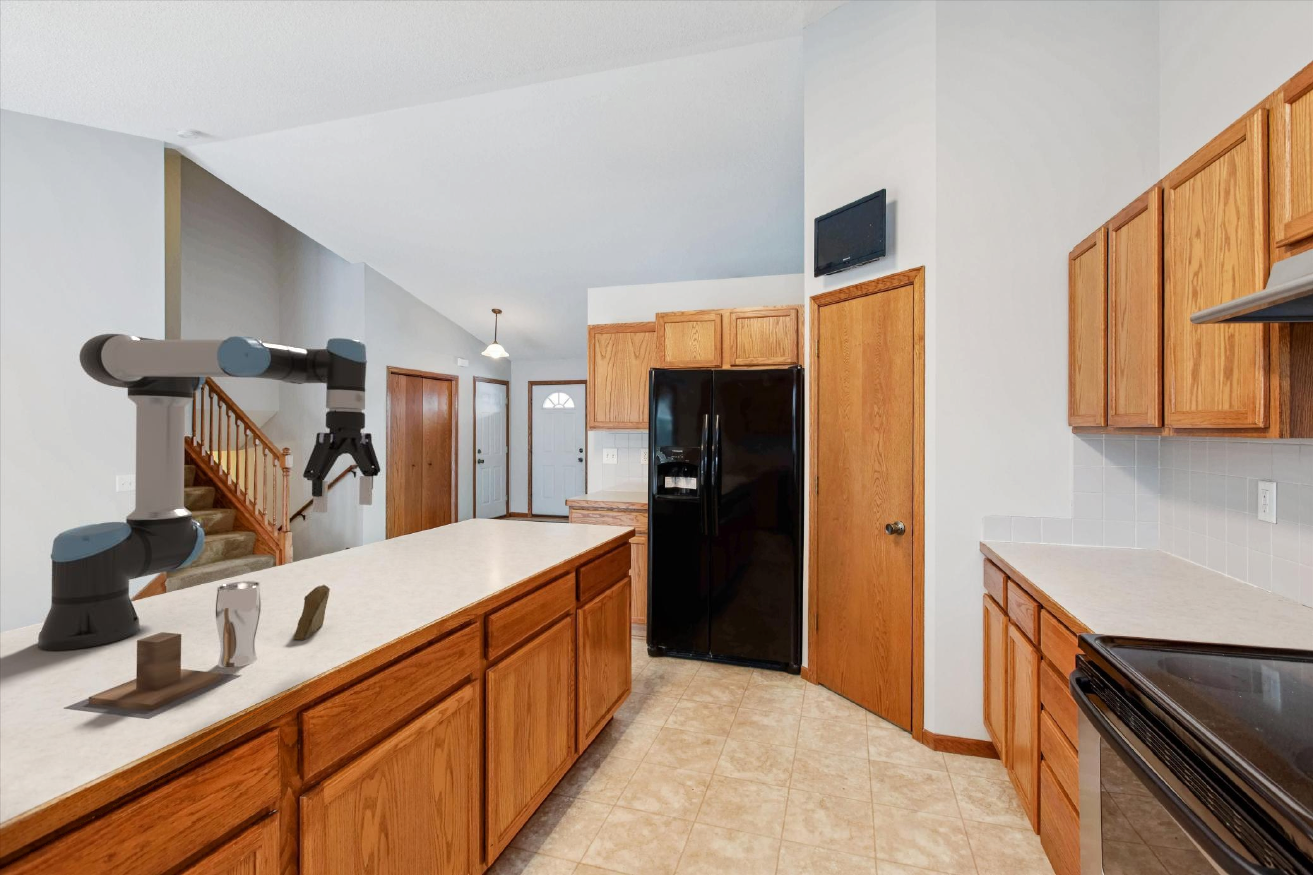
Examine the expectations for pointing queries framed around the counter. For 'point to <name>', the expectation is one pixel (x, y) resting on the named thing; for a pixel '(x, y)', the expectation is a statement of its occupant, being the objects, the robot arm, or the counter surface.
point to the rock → (312, 612)
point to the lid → (156, 677)
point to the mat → (146, 714)
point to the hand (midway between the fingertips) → (344, 508)
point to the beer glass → (237, 622)
